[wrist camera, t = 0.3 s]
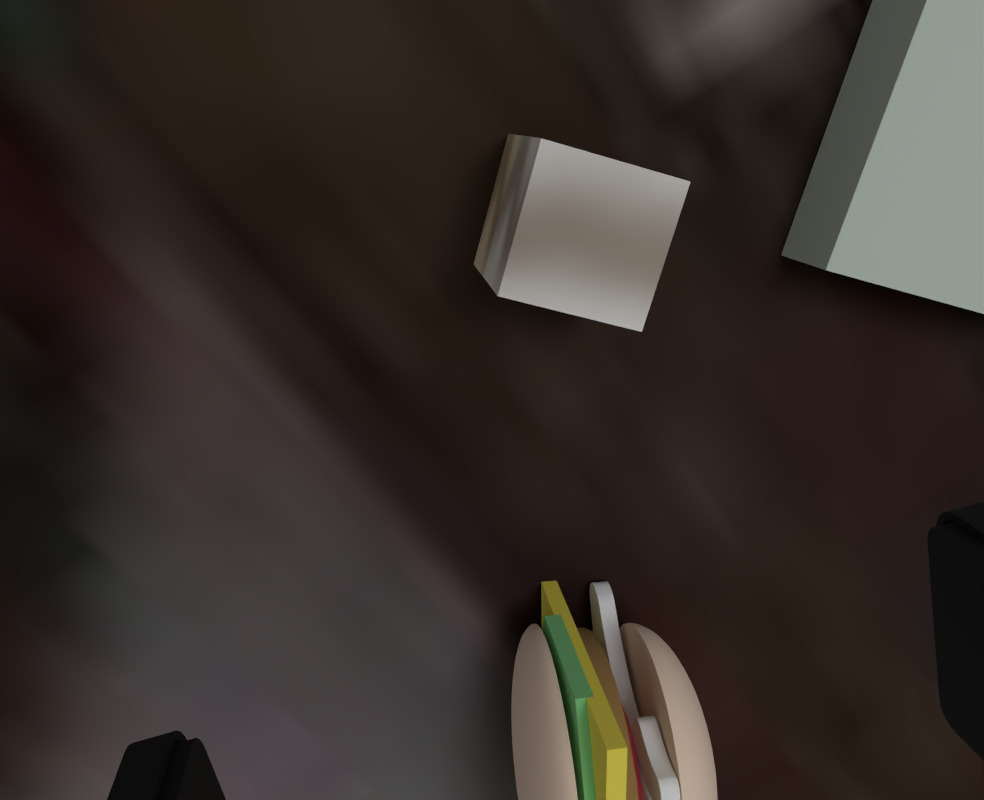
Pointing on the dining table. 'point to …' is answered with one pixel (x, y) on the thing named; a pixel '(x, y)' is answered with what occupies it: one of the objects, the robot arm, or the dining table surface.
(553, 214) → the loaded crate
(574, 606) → the dining table surface
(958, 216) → the dock
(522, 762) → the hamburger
